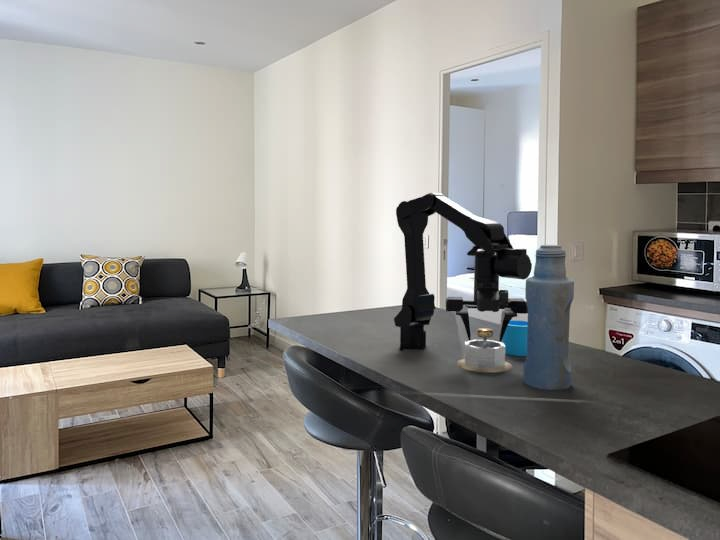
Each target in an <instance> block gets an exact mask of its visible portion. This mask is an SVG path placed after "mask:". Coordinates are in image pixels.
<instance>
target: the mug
mask: <svg viewBox="0 0 720 540" xmlns="http://www.w3.org/2000/svg"><path fill="white" fill-rule="evenodd" d="M527 325H528V320H517V319H515V320H512V319H511V320H510V322H509V324H508V326H507V328H506V331H505V333H504V336H503V339H502V341H501V342H502V343H504V345H505V355H510V356H516V357H527Z"/></svg>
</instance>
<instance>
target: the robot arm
mask: <svg viewBox="0 0 720 540" xmlns="http://www.w3.org/2000/svg"><path fill="white" fill-rule="evenodd" d="M395 213H396V221H397V225H398V228H399V229H400V230H401V233H402V234H403V237H404V248H405V249H404V252H405V253H404V255H405V268H406V269H405V270H406V271H405V273H406V284H407V285H406V286H407V287H406V291H405V293H404V295H403V297H402V303H401V309H400V311H399V312H398V313H397V315H396V316H394V317H393V322H394V325H395V327H398V328H400V331H399V333H400V336H399V350H401V351H404V350H418V351H420V350H421V351H424V350H425V348H426V346H427V330H425V326H430V322H431V319H432V317H433V316H434V314H435V310H436V305H435V298H436V297H435V293H430V292H429V290H428V289H427V285H426V284H427V283H426V269H425V268H426V267H425V266H426V265H425V251H424V247H425V246H424V232H425V230H426V228H427V226H428V224H429V217H430V216H432V215H435V214H437V215H440V216H441V217H443V219H445V220H447V221H449V222H450V223H451V224H453V225H455V226H457V227H458V228H459V229H461V231H462V232H464V235H465V237H466V238H467V240H469V241H470V242H471V243H472V244H473V246H472V248H471V249H470V250H469V251H467V253H466V255H467V256H470V257H471V256H472V257H474V269H473V270H474V271H473V272H474V273H473V275H474V276H473V278H474V280H473V300H464V298H463V296H447V297H446V298H445V312H450V313H451V312H453V313H455V315H456V316H460V318H461V320H462V323H463V325H464V329H465V332H466V335H467V340H468V341H470V340H471V326H470V318H469V311H468V309H476V310H477V311H478V312H483V313H484V312H493V313H497V312H499V311H500V310H501V318H500V323H499V324H500V325H499V331H498V332H499V334H498V338H499V339H498V340H499V341H498V342H502V339H503V336H504V333H505V331H506V328H507V326H508V324H509V322H510V320H512V319H513V318H517V317H518V314H522V315H523V314H524V315H526V314H527V315H528V308H527V302H526V299H524V298H522V297H521V298H517V297H515V298H513V297H509V290H508V289H500V287H499V286H500V278H507V279H516V280H526V279H527V278H529V277H530V274H531V272H532V268H533V265H532V261H531V258H530V257H529V255H528V253H527V251H528V250H527V249H526V248H514V247H513V245H512V243H511V242H510V240H509V239H508V237H507V235H506V233H505V228H504V226H503V225H502V224H501V223H499V222H498V221H495V220H491V219H489V218H484V217H480V216H478V215H475V214H474V213H472V212H470V211H469V210H467V209H466V208H464V207H462V206H461V205H460V204H458V203H456V202H454V201H452V200H451V199H449V198H448V197H446V196H445V194H443V193H440V192H429V193H427V194H425V195H422V196H420V197H417V198H414V199H410V200H403V201H401V202H400V203H399V204H398V206H396V209H395Z"/></svg>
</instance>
